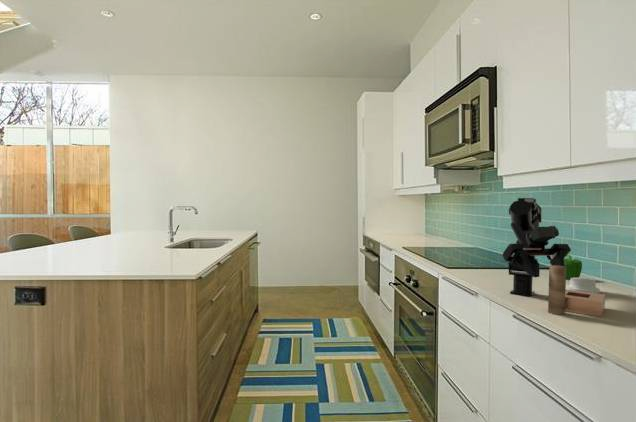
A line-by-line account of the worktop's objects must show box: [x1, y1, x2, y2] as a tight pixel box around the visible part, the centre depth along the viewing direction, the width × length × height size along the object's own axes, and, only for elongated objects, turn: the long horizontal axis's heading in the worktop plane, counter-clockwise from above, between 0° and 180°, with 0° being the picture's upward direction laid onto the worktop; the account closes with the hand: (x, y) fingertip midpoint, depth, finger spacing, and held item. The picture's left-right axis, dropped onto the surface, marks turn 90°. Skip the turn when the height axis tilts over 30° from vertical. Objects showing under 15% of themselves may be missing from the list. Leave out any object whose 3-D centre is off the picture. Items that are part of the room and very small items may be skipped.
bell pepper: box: [564, 253, 583, 280], centre depth 166 cm, size 8×8×10 cm
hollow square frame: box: [565, 288, 606, 318], centre depth 118 cm, size 12×12×4 cm
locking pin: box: [547, 264, 567, 316], centre depth 113 cm, size 4×4×13 cm
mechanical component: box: [565, 277, 601, 294], centre depth 143 cm, size 10×4×10 cm
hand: (549, 275), depth 116 cm, fingers open, 9 cm apart
